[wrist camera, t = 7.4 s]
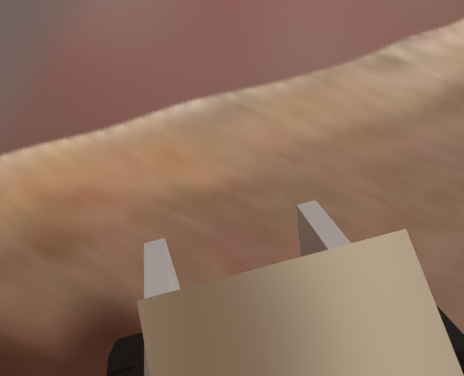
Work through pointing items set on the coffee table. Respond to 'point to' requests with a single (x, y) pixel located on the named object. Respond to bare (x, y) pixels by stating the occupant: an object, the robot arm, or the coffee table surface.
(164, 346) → the maple block
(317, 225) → the robot arm
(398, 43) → the coffee table surface
